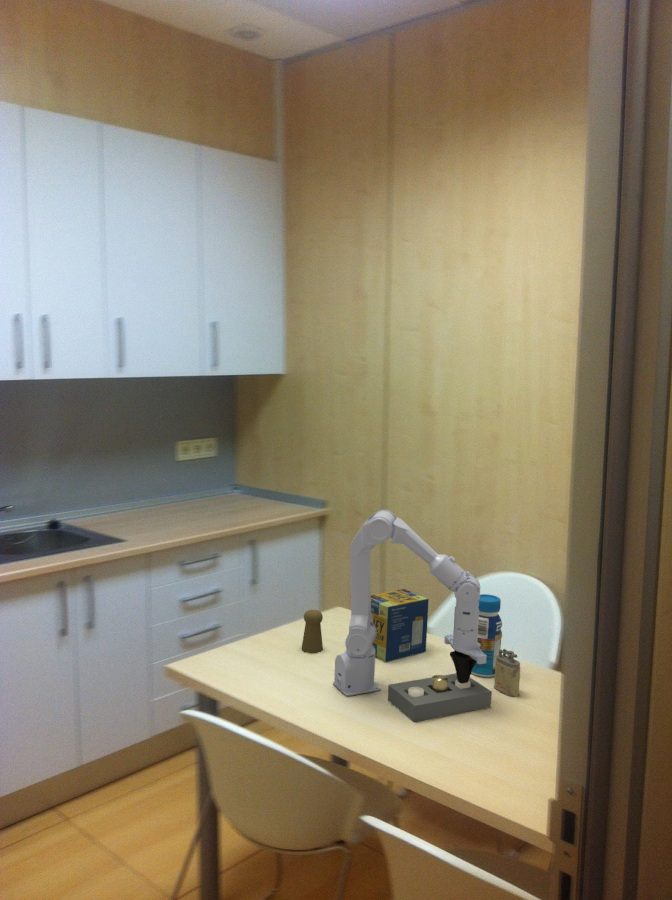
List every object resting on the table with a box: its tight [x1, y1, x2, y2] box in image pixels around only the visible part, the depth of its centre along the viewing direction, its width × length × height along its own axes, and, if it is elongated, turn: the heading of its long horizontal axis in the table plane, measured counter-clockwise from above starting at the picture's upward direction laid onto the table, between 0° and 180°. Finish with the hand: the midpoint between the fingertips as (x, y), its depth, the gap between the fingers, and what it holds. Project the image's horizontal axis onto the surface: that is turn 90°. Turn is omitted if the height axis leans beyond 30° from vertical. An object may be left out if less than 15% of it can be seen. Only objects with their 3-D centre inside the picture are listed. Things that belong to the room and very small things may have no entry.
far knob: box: [455, 679, 471, 689], centre depth 181 cm, size 4×4×4 cm
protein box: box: [371, 588, 429, 663], centre depth 210 cm, size 10×15×16 cm
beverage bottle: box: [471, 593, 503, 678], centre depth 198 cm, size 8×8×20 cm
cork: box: [301, 609, 324, 654], centre depth 210 cm, size 6×6×11 cm
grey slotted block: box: [387, 672, 493, 723], centre depth 179 cm, size 21×12×4 cm, turn 115°
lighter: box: [493, 648, 521, 697], centre depth 187 cm, size 7×4×10 cm, turn 33°
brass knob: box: [432, 674, 448, 693], centre depth 178 cm, size 4×4×4 cm
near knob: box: [408, 687, 425, 698], centre depth 176 cm, size 4×4×4 cm
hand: (463, 682), depth 181 cm, fingers closed, pressing on far knob
